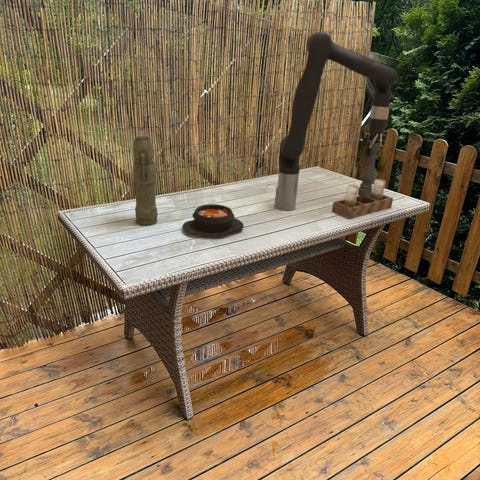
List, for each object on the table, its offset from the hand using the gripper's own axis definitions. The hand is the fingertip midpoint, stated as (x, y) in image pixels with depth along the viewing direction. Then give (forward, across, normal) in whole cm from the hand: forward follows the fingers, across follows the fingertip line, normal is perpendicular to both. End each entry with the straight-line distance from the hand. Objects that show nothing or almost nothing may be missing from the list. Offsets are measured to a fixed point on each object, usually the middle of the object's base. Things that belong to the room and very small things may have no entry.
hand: (371, 155), depth 190 cm
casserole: (+27, +74, -14) cm, 80 cm away
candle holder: (+19, 0, 0) cm, 19 cm away
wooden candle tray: (+26, 0, 0) cm, 26 cm away
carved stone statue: (+27, +94, -35) cm, 104 cm away
